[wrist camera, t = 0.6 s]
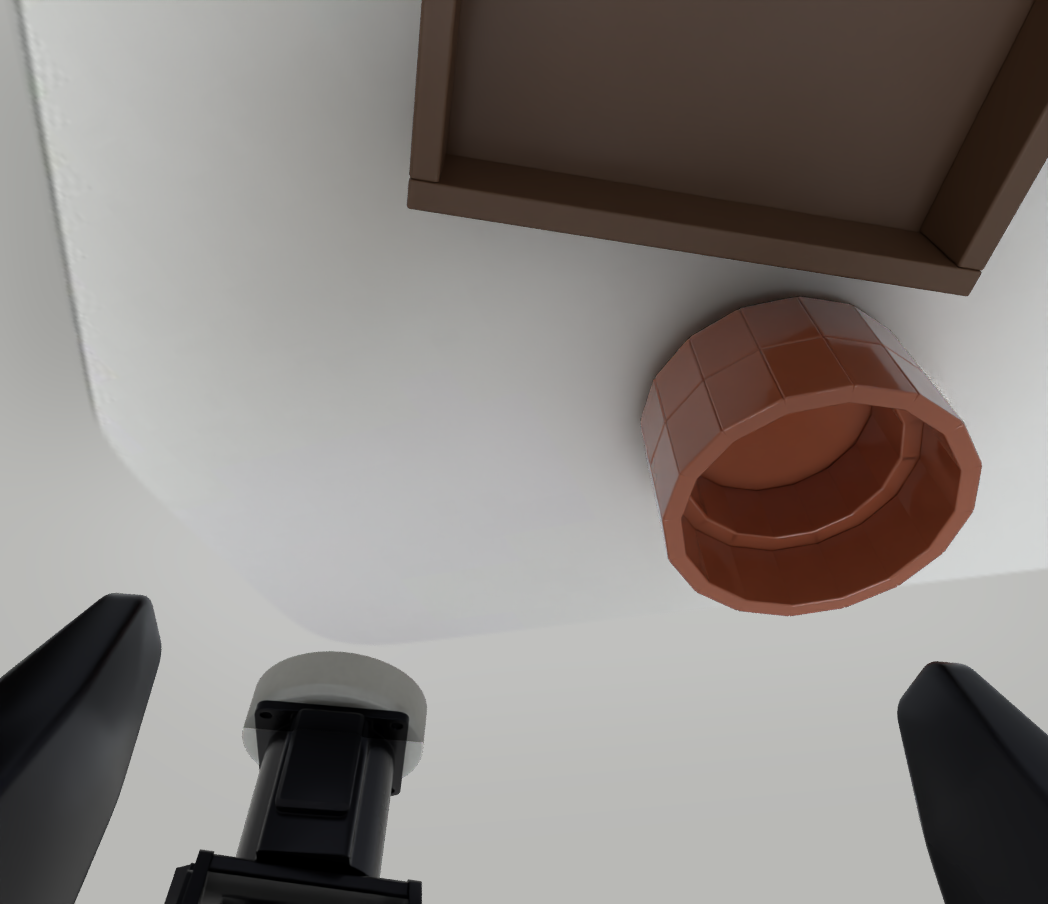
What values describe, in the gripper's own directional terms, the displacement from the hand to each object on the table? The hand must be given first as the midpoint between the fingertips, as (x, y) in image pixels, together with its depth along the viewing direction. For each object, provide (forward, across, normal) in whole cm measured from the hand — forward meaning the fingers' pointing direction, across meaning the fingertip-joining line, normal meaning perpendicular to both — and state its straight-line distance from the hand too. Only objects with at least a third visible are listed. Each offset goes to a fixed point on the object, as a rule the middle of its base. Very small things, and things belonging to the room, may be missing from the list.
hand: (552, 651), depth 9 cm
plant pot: (+12, -7, +4) cm, 14 cm away
